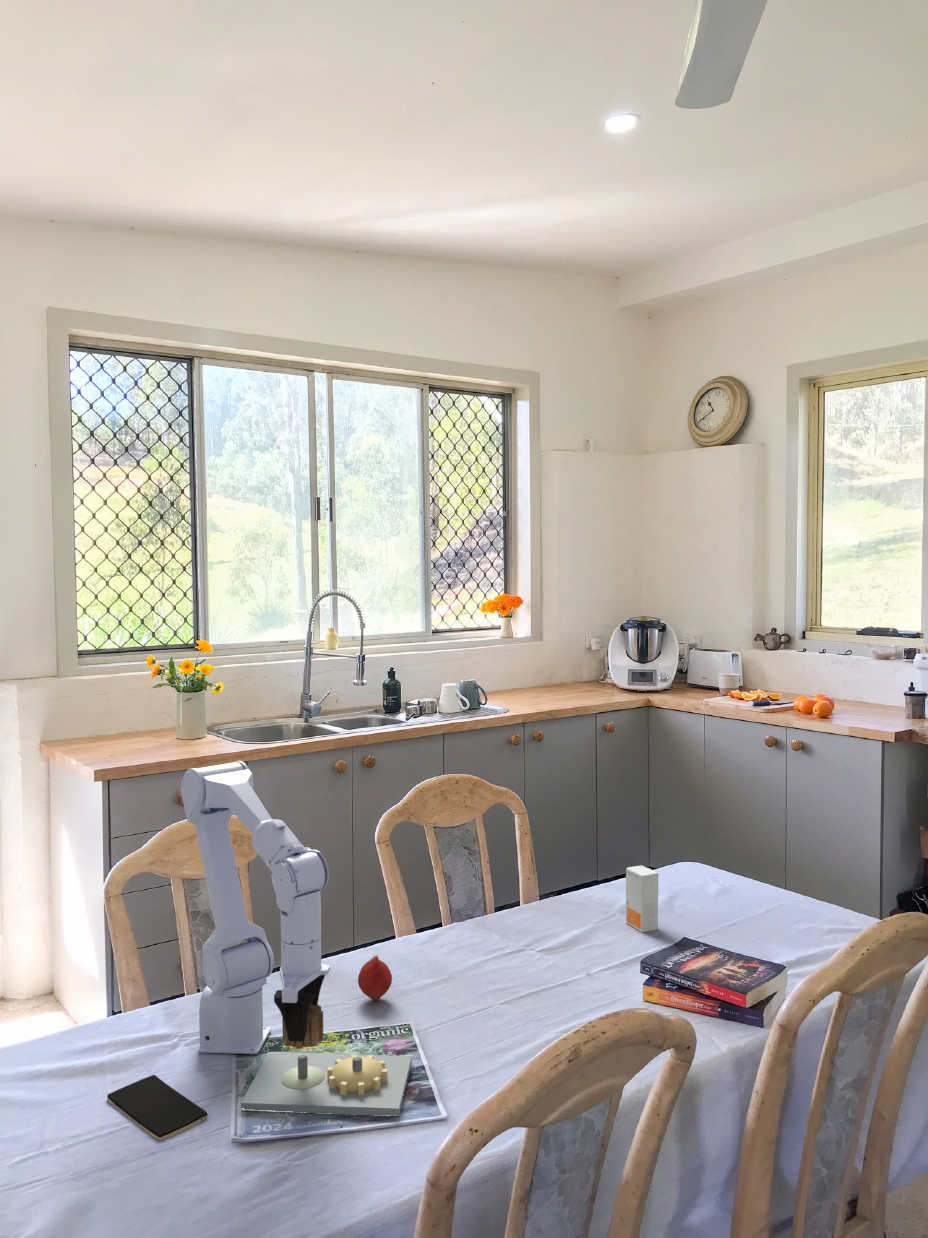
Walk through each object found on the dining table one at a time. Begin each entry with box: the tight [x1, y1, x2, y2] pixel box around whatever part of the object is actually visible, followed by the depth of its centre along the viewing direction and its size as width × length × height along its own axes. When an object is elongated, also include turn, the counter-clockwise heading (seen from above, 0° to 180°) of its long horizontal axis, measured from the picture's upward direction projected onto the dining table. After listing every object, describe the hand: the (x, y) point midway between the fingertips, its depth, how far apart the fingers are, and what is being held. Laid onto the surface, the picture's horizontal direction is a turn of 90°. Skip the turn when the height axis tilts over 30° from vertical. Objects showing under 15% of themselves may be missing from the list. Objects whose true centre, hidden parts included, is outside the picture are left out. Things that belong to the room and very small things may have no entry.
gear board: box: [240, 1051, 413, 1117], centre depth 139 cm, size 22×14×4 cm, turn 86°
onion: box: [357, 954, 393, 1002], centre depth 167 cm, size 6×6×8 cm
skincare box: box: [625, 864, 659, 933], centre depth 200 cm, size 6×4×12 cm
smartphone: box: [106, 1074, 209, 1141], centre depth 134 cm, size 7×1×15 cm
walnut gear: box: [281, 1004, 324, 1050], centre depth 139 cm, size 6×6×4 cm
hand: (302, 1029), depth 139 cm, fingers closed on walnut gear, 6 cm apart
